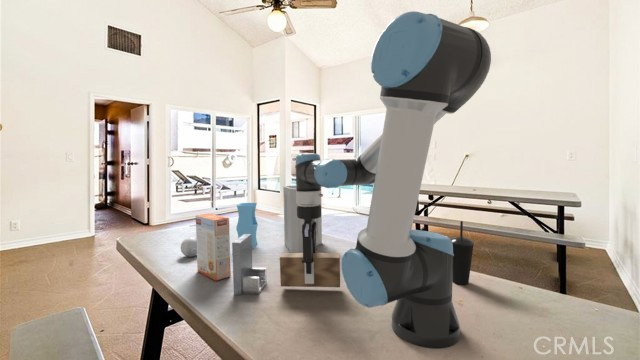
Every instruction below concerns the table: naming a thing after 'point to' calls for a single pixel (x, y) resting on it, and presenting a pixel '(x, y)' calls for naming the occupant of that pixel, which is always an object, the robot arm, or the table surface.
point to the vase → (247, 221)
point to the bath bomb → (189, 247)
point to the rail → (323, 270)
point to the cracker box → (213, 246)
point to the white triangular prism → (296, 222)
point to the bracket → (246, 268)
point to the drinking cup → (462, 258)
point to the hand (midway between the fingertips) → (310, 279)
